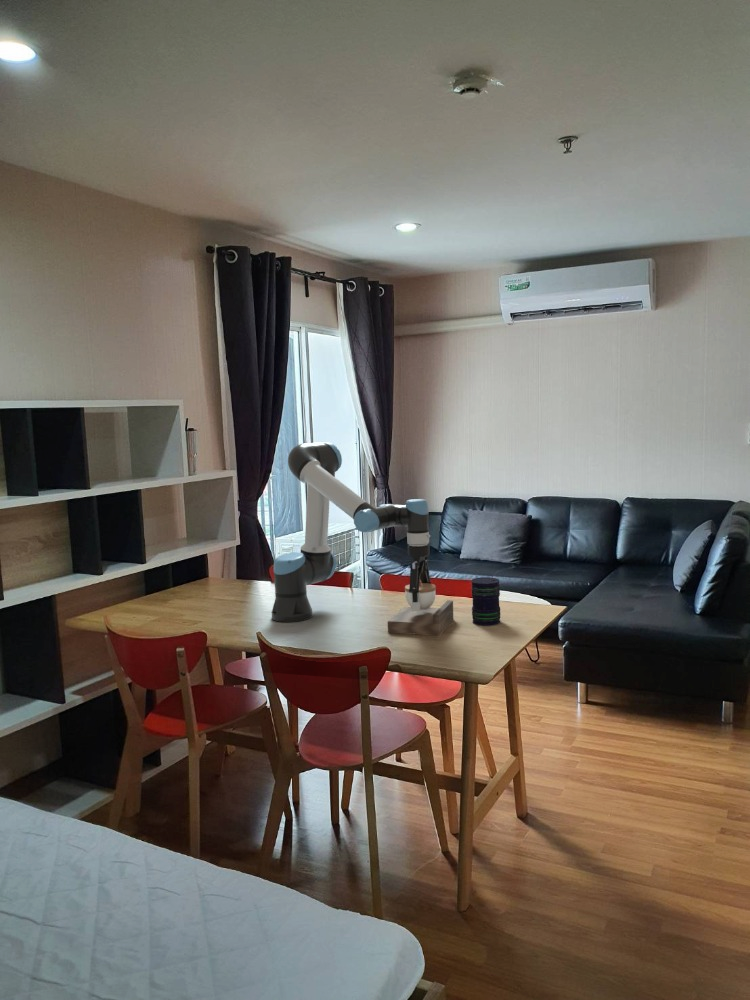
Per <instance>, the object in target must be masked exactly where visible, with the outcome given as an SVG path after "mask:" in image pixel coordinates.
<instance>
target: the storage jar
mask: <svg viewBox="0 0 750 1000" xmlns="http://www.w3.org/2000/svg"><path fill="white" fill-rule="evenodd" d="M470 582H471V584H470V585H471V591H470V592H471V597H472V607H471V616H472V624H473V625H476V626H480V627H481V626H482V627H492V626H493V627H494V626H496V625H500V624H501V619H500V618H501V606H500V595H501V589H500V588H501V587H500V579H499V578H495V577H488V576H487V577H476V578H472V579H471V581H470Z"/></svg>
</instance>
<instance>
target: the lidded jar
mask: <svg viewBox="0 0 750 1000" xmlns="http://www.w3.org/2000/svg"><path fill="white" fill-rule="evenodd" d="M409 587H410V583H409V584H406V585H405V586H404V593H405V599H406V602H407V604H408V605H409V607H412V593H409ZM414 589H415V588H414ZM436 589H437V586H436V584H433V583H431V584H429V583H422V582H421V580H420V585H419V592H420V610H427V609H430V608H432V605H433V604H434V603H435V601H436V591H437V590H436Z"/></svg>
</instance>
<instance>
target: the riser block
mask: <svg viewBox="0 0 750 1000" xmlns="http://www.w3.org/2000/svg"><path fill="white" fill-rule="evenodd" d="M454 620H455V619H454V600H446V601H445V602H444V603H443V604H442V605H441V606H440V607H438V608H437V607H430V609H427V610H420V612H419V611H412V607H411V606H404V607H403V608H401V609H400V610H399V611H398V612H397V613H396V614H395V615H393V616H391V618H390V619H388V620H387V633H388V632H389V633H391V634H403V633H415V634H414V635H421V634H427V635H426V636H439V635H440V636H441V635H442V633H444V631H445V630H446V629H447V628H448V627H449V625H450V624H451V623H453V622H454ZM428 634H429V635H428Z"/></svg>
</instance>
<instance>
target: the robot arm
mask: <svg viewBox="0 0 750 1000" xmlns="http://www.w3.org/2000/svg"><path fill="white" fill-rule="evenodd" d="M287 457H288V458H287V464H288V468H289V470H290V472H291V474H292V475H293V476H294V477H295V478H296V479H297V480H299V481H300V482H301V483H303V484H307V486H306V487H307V491H306V508H305V509H306V511H305V512H306V513H305V514H306V515H305V531H304V533H305V534H304V535H305V536H304V543H303V545H301V546H300V552H299V551H298V552H297V551H295V552H289V553H284V554H281V555H279V556H277V557H275V559H274V560H273V568H272V569H273V570H272V571H273V578H274V595H275V596H274V597H275V598H274V602H273V606H272V610H271V619H272V620H273V621H275V622H278V623H279V622H280V623H281V622H282V623H292V622H301V621H307V620H309V619H311V618H312V617H313V608H312V606H311V602H310V601H309V598H308V594H307V592H308V590H307V586H309V585H310V586H311V585H313V584H317V583H321V582H325V581H326V580H328V579H330V578H331V577H333V575H334V573H335V572H336V568H337V560H336V559H337V558H335V554H334V553H332V549H331V547H330V546H329V544H328V539H329V538H328V536H329V535H328V534H329V517H330V503H332V504H333V505H335V506H336V507H337V508H338V509H340V510H341V511H342V512H343V513H345V514H346V515H347V516H349V517H350V518H351V519H353V524H354V526H355V528H356V530H357V531H358V532H360V533H371V532H376V531H378V530H383V529H387V528H392V527H405V528H406V536H407V537H406V538H407V543H406V544H407V555H408V556H409V558H410V557H412V558H413V559H412V562H409V567H410V569H409V571H410V572H409V574H410V575H409V584H410V587H409V593H412V611H419V612H420V592H419V585H420V581H421V582H422V583H429V584H432V581H431V575H430V568H429V559H428V558H429V556H430V555H431V553H430V551H431V550H430V544H429V543H430V538H431V534H429V533H430V531H429V530H430V529H429V513H430V512H429V506H428V501H427V500H426V499H424V498H418V499H416V498H414V499H408V500H406V502H405V504H392V503H386V504H385V503H384V504H379V506H378V507H374V506H373V505H372V504H370V503H369V502H367V501H366V500H364V498H362V497H361V496H359V495H358V494H357V493H356V492H355V491H353V490H352V489H350V488H349V486H347V485H345V484H344V483H343V482H342V481H340V480H339V479H337V477H336V473H337V472H338V471H339V469H340V468H341V466H342V463H343V459H342V454H341V451H340V450H339V448H338V447H337V446H336V445H335V444H334V443H332V442H325V441H318V442H317V441H316V442H311V443H308V442H307V443H300V444H298V445H297V444H296V445H295V446H294V447H293V448H292V449H291V451H290V452H289V453H288V456H287ZM414 588H415V589H414Z"/></svg>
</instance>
